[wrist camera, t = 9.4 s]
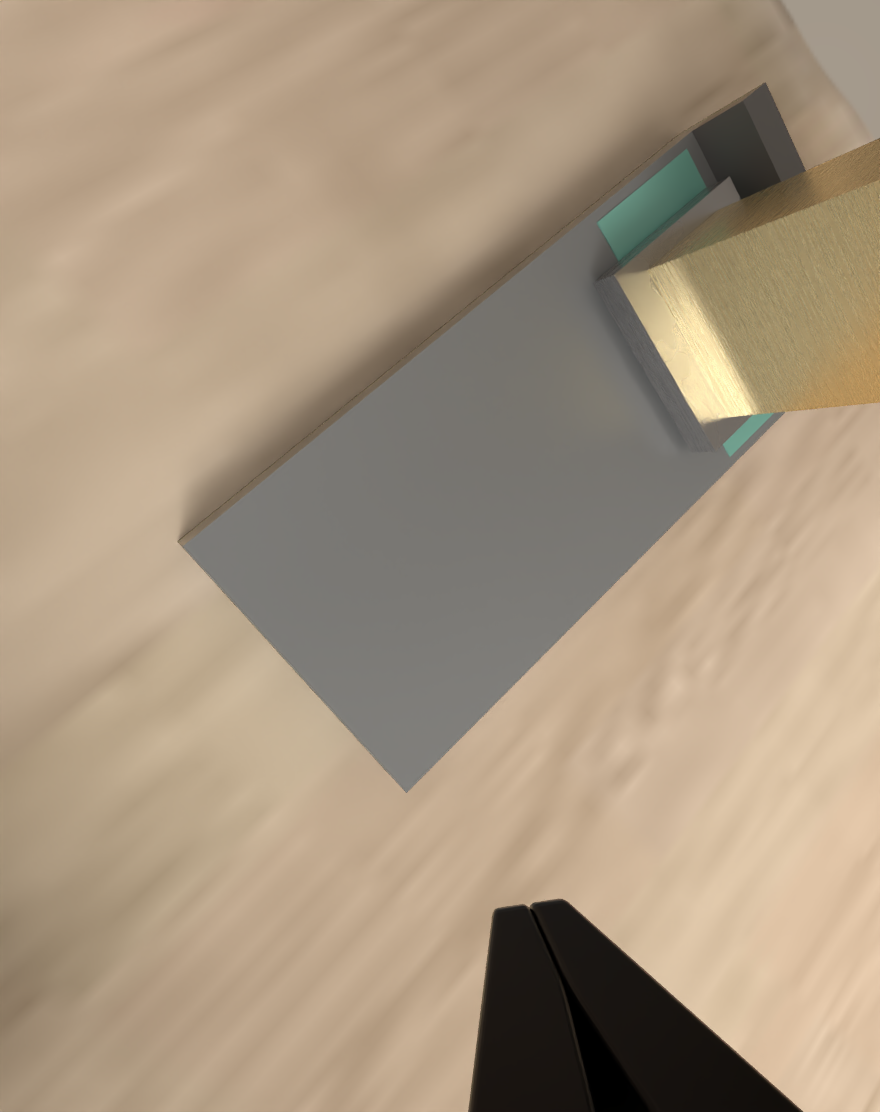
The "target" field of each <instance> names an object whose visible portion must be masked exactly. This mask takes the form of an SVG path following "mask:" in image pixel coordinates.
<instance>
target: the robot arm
mask: <svg viewBox="0 0 880 1112" xmlns="http://www.w3.org/2000/svg"><path fill="white" fill-rule="evenodd" d="M468 1112H803V1111H802V1110H801V1109H800V1108H799V1107H797V1106H796V1105H795V1104H794V1103H793V1102H792V1101H791V1100H790V1099H789V1098H787V1097H786V1096H785V1095H784V1094H783V1093H782V1092H781V1091H780V1090H778V1089H777V1088H776V1087H775V1086H774V1085H773V1084H772V1083H771V1082H769V1081H768V1080H767V1079H766V1078H765V1077H764V1076H763V1075H762V1074H760V1073H759V1072H758V1071H757V1070H756V1069H755V1068H754V1067H753V1066H751V1065H750V1064H749V1063H748V1062H747V1061H746V1060H745V1059H744V1058H743V1057H741V1056H740V1055H739V1054H738V1053H737V1052H736V1051H735V1050H734V1049H732V1048H731V1047H730V1046H729V1045H728V1044H727V1043H726V1042H725V1041H723V1040H722V1039H721V1038H720V1037H719V1036H718V1035H717V1034H716V1033H714V1032H713V1031H712V1030H711V1029H710V1028H709V1027H708V1026H707V1025H705V1024H704V1023H703V1022H702V1021H701V1020H700V1019H699V1018H698V1017H697V1016H695V1015H694V1014H693V1013H692V1012H691V1011H690V1010H689V1009H688V1008H686V1007H685V1006H684V1005H683V1004H682V1003H681V1002H680V1001H679V1000H677V999H676V998H675V997H674V996H673V995H672V994H671V993H670V992H668V991H667V990H666V989H665V988H664V987H663V986H662V985H661V984H659V983H658V982H657V981H656V980H655V979H654V978H653V977H652V976H651V975H649V974H648V973H647V972H646V971H645V970H644V969H643V968H642V967H640V966H639V965H638V964H637V963H636V962H635V961H634V960H633V959H631V958H630V957H629V956H628V955H627V954H626V953H625V952H624V951H622V950H621V949H620V948H619V947H618V946H617V945H616V944H615V943H613V942H612V941H611V940H610V939H609V938H608V937H607V936H606V935H605V934H603V933H602V932H601V931H600V930H599V929H598V928H597V927H596V926H594V925H593V924H592V923H591V922H590V921H589V920H588V919H587V918H585V917H584V916H583V915H582V914H581V913H580V912H579V911H578V910H576V909H575V908H574V907H573V906H572V905H571V904H570V903H569V902H567V901H565V900H563V899H554V900H547V901H541V902H535V903H533V904H532V905H531V906H530V907H528V906H526V905H524V904H521V905H514V906H507V907H501V908H497V909H495V910H494V912H493V916H492V923H491V931H490V939H489V947H488V955H487V963H486V972H485V980H484V988H483V996H482V1004H481V1012H480V1020H479V1028H478V1037H477V1045H476V1053H475V1061H474V1069H473V1077H472V1085H471V1094H470V1102H469V1110H468Z"/></svg>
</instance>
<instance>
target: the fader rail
mask: <svg viewBox="0 0 880 1112" xmlns="http://www.w3.org/2000/svg"><path fill="white" fill-rule="evenodd" d="M805 171H806V170H805V168H804V166H803V164H802V161H801V159H800V157H799V155H798V153H797V150H796V148H795V146H794V144H793V142H792V139H791V137H790V135H789V133H788V131H787V129H786V126H785V124H784V122H783V120H782V118H781V115H780V113H779V111H778V109H777V107H776V104H775V102H774V100H773V98H772V96H771V93H770V91H769V89H768V87H767V85H766V82H765V83H763V84H762V85H760V86H758V87H757V88H755V89H753V90H752V91H750V92H748V93H747V94H745V95H743V96H742V97H740V98H738V99H737V100H735V101H733V102H732V103H730V104H729V105H727V106H725V107H724V108H722V109H720V110H719V111H717V112H715V113H714V114H712V115H710V116H709V117H707V118H705V119H704V120H702V121H700V122H699V123H697V124H695V125H694V126H692V127H691V128H689V129H687V130H686V131H684V132H682V133H681V134H679V135H678V136H676V137H675V138H674V139H673V140H672V141H670V142H669V143H668V144H667V145H665V146H664V147H663V148H662V149H660V150H659V151H658V152H657V153H656V154H654V155H653V156H652V157H651V158H649V159H648V160H647V161H646V162H644V163H643V164H642V165H641V166H640V167H638V168H637V169H636V170H635V171H633V172H632V173H631V174H630V175H628V176H627V177H626V178H625V179H624V180H622V181H621V182H620V183H619V184H617V185H616V186H615V187H614V188H612V189H611V190H610V191H609V192H608V193H606V194H605V195H604V196H603V197H601V198H600V199H599V200H598V201H596V202H595V203H594V204H593V205H592V206H590V207H589V208H588V209H587V210H585V211H584V212H583V213H582V214H580V215H579V216H578V217H577V218H576V219H574V220H573V221H572V222H571V223H569V224H568V225H567V226H566V227H564V228H563V229H562V230H561V231H559V232H558V233H557V234H556V235H555V236H553V237H552V238H551V239H550V240H548V241H547V242H546V243H545V244H543V245H542V246H541V247H540V248H539V249H537V250H536V251H535V252H534V253H532V254H531V255H530V256H529V257H527V258H526V259H525V260H524V261H523V262H521V263H520V264H519V265H518V266H516V267H515V268H514V269H513V270H511V271H510V272H509V273H508V274H507V275H505V276H504V277H503V278H502V279H500V280H499V281H498V282H497V283H495V284H494V285H493V286H492V287H491V288H489V289H488V290H487V291H486V292H484V293H483V294H482V295H481V296H479V297H478V298H477V299H476V300H475V301H473V302H472V303H471V304H470V305H468V306H467V307H466V308H465V309H463V310H462V311H461V312H460V313H458V314H457V315H456V316H455V317H454V318H452V319H451V320H450V321H449V322H447V323H446V324H445V325H444V326H442V327H441V328H440V329H439V330H438V331H436V332H435V333H434V334H433V335H431V336H430V337H429V338H428V339H426V340H425V341H424V342H423V343H422V344H420V345H419V346H418V347H417V348H415V349H414V350H413V351H412V352H410V353H409V354H408V355H407V356H406V357H404V358H403V359H402V360H401V361H399V362H398V363H397V364H396V365H394V366H393V367H392V368H391V369H390V370H388V371H387V372H386V373H385V374H383V375H382V376H381V377H380V378H378V379H377V380H376V381H375V382H374V383H372V384H371V385H370V386H369V387H367V388H366V389H365V390H364V391H362V392H361V393H360V394H359V395H358V396H356V397H355V398H354V399H353V400H351V401H350V402H349V403H348V404H346V405H345V406H344V407H343V408H341V409H340V410H339V411H338V412H337V413H335V414H334V415H333V416H332V417H330V418H329V419H328V420H327V421H325V422H324V423H323V424H322V425H321V426H319V427H318V428H317V429H316V430H314V431H313V432H312V433H311V434H309V435H308V436H307V437H306V438H305V439H303V440H302V441H301V442H300V443H298V444H297V445H296V446H295V447H293V448H292V449H291V450H290V451H289V452H287V453H286V454H285V455H284V456H282V457H281V458H280V459H279V460H277V461H276V462H275V463H274V464H273V465H271V466H270V467H269V468H268V469H266V470H265V471H264V472H263V473H261V474H260V475H259V476H258V477H257V478H255V479H254V480H253V481H252V482H250V483H249V484H248V485H247V486H245V487H244V488H243V489H242V490H241V491H239V492H238V493H237V494H236V495H234V496H233V497H232V498H231V499H229V500H228V501H227V502H226V503H224V504H223V505H222V506H221V507H220V508H218V509H217V510H216V511H215V512H213V513H212V514H211V515H210V516H208V517H207V518H206V519H205V520H204V521H202V522H201V523H200V524H199V525H197V526H196V527H195V528H194V529H192V530H191V531H190V532H189V533H188V534H186V535H185V536H184V537H183V538H181V539H180V540H179V541H178V543H179V544H180V545H181V546H182V547H183V548H184V549H185V550H186V551H187V553H188V554H189V555H190V556H191V557H192V558H193V559H194V560H195V561H196V562H197V564H198V565H199V566H200V567H201V568H202V569H203V570H204V571H205V572H206V573H207V575H208V576H209V577H210V578H211V579H212V580H213V581H214V582H215V583H216V584H217V586H218V587H219V588H220V589H221V590H222V591H223V592H224V593H225V594H226V595H227V597H228V598H229V599H230V600H231V601H232V602H233V603H234V604H235V605H236V606H237V608H238V609H239V610H240V611H241V612H242V613H243V614H244V615H245V616H246V617H247V619H248V620H249V621H250V622H251V623H252V624H253V625H254V626H255V627H256V628H257V630H258V631H259V632H260V633H261V634H262V635H263V636H264V637H265V638H266V639H267V641H268V642H269V643H270V644H271V645H272V646H273V647H274V648H275V649H276V651H277V652H278V653H279V654H280V655H281V656H282V657H283V658H284V659H285V660H286V662H287V663H288V664H289V665H290V666H291V667H292V668H293V669H294V670H295V671H296V673H297V674H298V675H299V676H300V677H301V678H302V679H303V680H304V681H305V682H306V684H307V685H308V686H309V687H310V688H311V689H312V690H313V691H314V692H315V693H316V695H317V696H318V697H319V698H320V699H321V700H322V701H323V702H324V703H325V704H326V706H327V707H328V708H329V709H330V710H331V711H332V712H333V713H334V714H335V715H336V717H337V718H338V719H339V720H340V721H341V722H342V723H343V724H344V725H345V726H346V728H347V729H348V730H349V731H350V732H351V733H352V734H353V735H354V736H355V737H356V739H357V740H358V741H359V742H360V743H361V744H362V745H363V746H364V747H365V748H366V750H367V751H368V752H369V753H370V754H371V755H372V756H373V757H374V758H375V759H376V761H377V762H378V763H379V764H380V765H381V766H382V767H383V768H384V769H385V770H386V772H387V773H388V774H389V775H390V776H391V777H392V778H393V779H394V780H395V781H396V782H397V783H398V784H399V785H400V786H401V788H402V789H403V790H404V791H405V792H406V793H407V792H408V791H409V790H410V789H411V788H412V787H413V786H414V785H415V784H416V783H417V782H418V781H419V780H420V779H421V778H422V777H423V776H424V775H425V774H426V773H427V772H428V771H429V770H430V769H431V768H432V767H433V766H434V765H435V764H436V763H437V762H438V761H439V760H440V759H441V758H442V757H443V756H444V755H445V754H446V753H447V752H448V751H449V750H450V749H451V748H452V747H453V746H454V745H455V744H456V743H457V742H458V741H459V740H460V739H461V738H462V737H463V736H464V735H465V734H466V733H467V732H468V731H469V730H470V729H471V728H472V727H473V726H474V725H475V724H476V722H477V721H478V720H479V719H480V718H481V717H482V716H483V715H484V714H485V713H486V712H487V711H488V710H489V709H490V708H491V707H492V706H493V705H494V704H495V703H496V702H497V701H498V700H499V699H500V698H501V697H502V696H503V695H504V694H505V693H506V692H507V691H508V690H509V689H510V688H511V687H512V686H513V685H514V684H515V683H516V682H517V681H518V680H519V679H520V678H521V677H522V676H523V675H524V674H525V673H526V672H527V671H528V670H529V669H530V668H531V667H532V666H533V665H534V664H535V663H536V662H537V661H538V660H539V659H540V658H541V657H542V656H543V655H544V654H545V653H546V652H547V651H548V650H549V649H550V648H551V647H552V646H553V645H554V644H555V643H556V642H557V641H558V640H559V639H560V638H561V637H562V636H563V635H564V634H565V633H566V632H567V631H568V630H569V629H570V628H571V627H572V626H573V625H574V624H575V623H576V622H577V621H578V620H579V619H580V618H581V617H582V616H583V615H584V614H585V613H586V612H587V611H588V610H589V609H590V608H591V607H592V606H593V605H594V604H595V603H596V602H597V601H598V600H599V599H600V598H601V597H602V596H603V595H604V594H605V593H606V592H607V591H608V590H609V589H610V588H611V587H612V586H613V585H614V584H615V583H616V582H617V581H618V580H619V579H620V578H621V577H622V576H623V575H624V574H625V573H626V572H627V571H628V570H629V569H630V568H631V567H632V566H633V565H634V564H635V563H636V562H637V561H638V560H639V559H640V558H641V557H642V556H643V555H644V554H645V553H646V552H647V551H648V550H649V549H650V548H651V547H652V546H653V545H654V544H655V543H656V542H657V541H658V540H659V539H660V538H661V537H662V536H663V535H664V534H665V533H666V532H667V531H668V530H669V529H670V528H671V526H672V525H673V524H674V523H675V522H676V521H677V520H678V519H679V518H680V517H681V516H682V515H683V514H684V513H685V512H686V511H687V510H688V509H689V508H690V507H691V506H692V505H693V504H694V503H695V502H696V501H697V500H698V499H699V498H700V497H701V496H702V495H703V494H704V493H705V492H706V491H707V490H708V489H709V488H710V487H711V486H712V485H713V484H714V483H715V482H716V481H717V480H718V479H719V478H720V477H721V476H722V475H723V474H724V473H725V472H726V471H727V470H728V469H729V468H730V467H731V466H732V465H733V464H734V463H735V462H736V461H737V460H738V459H739V458H740V457H741V456H742V455H743V454H744V453H745V452H746V451H747V450H748V449H749V448H750V447H751V446H752V445H753V444H754V443H755V442H756V441H757V440H758V439H759V438H760V437H761V436H762V435H763V434H764V433H765V432H766V431H767V430H768V429H769V428H770V427H771V426H772V425H773V424H774V423H775V422H776V421H777V420H778V419H779V418H780V417H781V416H782V415H783V414H784V413H785V412H777V413H767V414H757V415H752V416H751V417H750V418H749V419H748V420H747V421H746V422H745V423H744V424H743V425H742V426H741V427H740V428H739V429H738V430H737V431H736V432H735V433H734V434H733V435H732V436H731V437H730V438H729V439H728V440H727V441H726V442H725V443H724V444H723V445H722V446H721V447H720V448H719V449H718V450H717V451H716V452H694V453H692V452H691V450H690V448H689V447H688V445H687V443H686V441H685V440H684V438H683V436H682V435H681V433H680V431H679V430H678V428H677V426H676V424H675V423H674V421H673V419H672V418H671V416H670V414H669V413H668V411H667V409H666V407H665V406H664V404H663V402H662V401H661V399H660V397H659V395H658V394H657V392H656V390H655V389H654V387H653V385H652V384H651V382H650V380H649V378H648V377H647V375H646V373H645V372H644V370H643V368H642V367H641V365H640V363H639V361H638V360H637V358H636V356H635V355H634V353H633V351H632V349H631V348H630V346H629V344H628V343H627V341H626V339H625V338H624V336H623V334H622V332H621V331H620V329H619V327H618V326H617V324H616V322H615V321H614V319H613V317H612V315H611V314H610V312H609V310H608V309H607V307H606V305H605V303H604V302H603V300H602V298H601V297H600V295H599V293H598V292H597V290H596V288H595V286H594V285H593V283H594V282H595V281H596V280H597V279H599V278H600V277H601V276H602V275H603V274H604V273H606V272H607V271H608V270H609V269H610V268H612V267H613V266H614V265H615V264H616V263H617V262H619V261H620V260H621V259H622V258H623V257H624V256H626V255H627V254H628V253H629V252H630V251H632V250H633V249H634V248H635V247H636V246H637V245H639V244H640V243H641V242H642V241H643V240H644V239H646V238H647V237H648V236H649V235H650V234H652V233H653V232H654V231H655V230H656V229H657V228H659V227H660V226H661V225H662V224H663V223H664V222H666V221H667V220H668V219H669V218H670V217H672V216H673V215H674V214H675V213H676V212H677V211H679V210H680V209H681V208H682V207H683V206H684V205H686V204H687V203H688V202H689V201H690V200H692V199H693V198H694V197H695V196H696V195H697V194H699V193H700V192H701V191H702V190H703V189H704V188H706V187H708V186H711V185H713V184H715V183H717V182H719V181H721V180H723V179H725V178H727V177H729V176H730V178H731V180H732V182H733V184H734V186H735V188H736V190H737V192H738V194H739V196H740V198H741V199H744V198H746V197H748V196H750V195H753V194H755V193H757V192H759V191H762V190H764V189H766V188H769V187H771V186H773V185H775V184H778V183H780V182H782V181H784V180H787V179H789V178H791V177H793V176H796V175H798V174H800V173H802V172H805Z"/></svg>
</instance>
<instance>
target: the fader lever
mask: <svg viewBox="0 0 880 1112" xmlns="http://www.w3.org/2000/svg"><path fill="white" fill-rule="evenodd" d="M593 285H594V286H595V288H596V290H597V292H598V293H599V295H600V297H601V298H602V300H603V302H604V303H605V305H606V307H607V309H608V310H609V312H610V314H611V315H612V317H613V319H614V321H615V322H616V324H617V326H618V327H619V329H620V331H621V332H622V334H623V336H624V338H625V339H626V341H627V343H628V344H629V346H630V348H631V349H632V351H633V353H634V355H635V356H636V358H637V360H638V361H639V363H640V365H641V367H642V368H643V370H644V372H645V373H646V375H647V377H648V378H649V380H650V382H651V384H652V385H653V387H654V389H655V390H656V392H657V394H658V395H659V397H660V399H661V401H662V402H663V404H664V406H665V407H666V409H667V411H668V413H669V414H670V416H671V418H672V419H673V421H674V423H675V424H676V426H677V428H678V430H679V431H680V433H681V435H682V436H683V438H684V440H685V441H686V443H687V445H688V447H689V448H690V450H691V452H692V453H694V452H716V451H717V450H718V449H719V448H720V447H721V446H722V445H723V444H724V443H725V442H726V441H727V440H728V439H729V438H730V437H731V436H732V435H733V434H734V433H735V432H736V431H737V430H738V429H739V428H740V427H741V426H742V425H743V424H744V423H745V422H746V421H747V420H748V419H749V418H750V417H751V416H752V415H757V414H767V413H777V412H787V411H797V410H807V409H817V408H828V407H838V406H848V405H858V404H868V403H878V402H880V138H879V139H877V140H875V141H873V142H870V143H868V144H866V145H863V146H861V147H859V148H857V149H854V150H852V151H850V152H848V153H845V154H843V155H841V156H839V157H836V158H834V159H832V160H830V161H827V162H825V163H823V164H821V165H818V166H816V167H814V168H811V169H809V170H807V171H805V172H802V173H800V174H798V175H796V176H793V177H791V178H789V179H787V180H784V181H782V182H780V183H778V184H775V185H773V186H771V187H769V188H766V189H764V190H762V191H759V192H757V193H755V194H753V195H750V196H748V197H746V198H744V199H741V198H740V196H739V194H738V192H737V190H736V188H735V186H734V184H733V182H732V180H731V178H730V176H729V177H727V178H725V179H723V180H721V181H719V182H717V183H715V184H713V185H711V186H708V187H706V188H704V189H703V190H702V191H701V192H700V193H699V194H697V195H696V196H695V197H694V198H693V199H692V200H690V201H689V202H688V203H687V204H686V205H684V206H683V207H682V208H681V209H680V210H679V211H677V212H676V213H675V214H674V215H673V216H672V217H670V218H669V219H668V220H667V221H666V222H664V223H663V224H662V225H661V226H660V227H659V228H657V229H656V230H655V231H654V232H653V233H652V234H650V235H649V236H648V237H647V238H646V239H644V240H643V241H642V242H641V243H640V244H639V245H637V246H636V247H635V248H634V249H633V250H632V251H630V252H629V253H628V254H627V255H626V256H624V257H623V258H622V259H621V260H620V261H619V262H617V263H616V264H615V265H614V266H613V267H612V268H610V269H609V270H608V271H607V272H606V273H604V274H603V275H602V276H601V277H600V278H599V279H597V280H596V281H595V282H594V283H593Z"/></svg>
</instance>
